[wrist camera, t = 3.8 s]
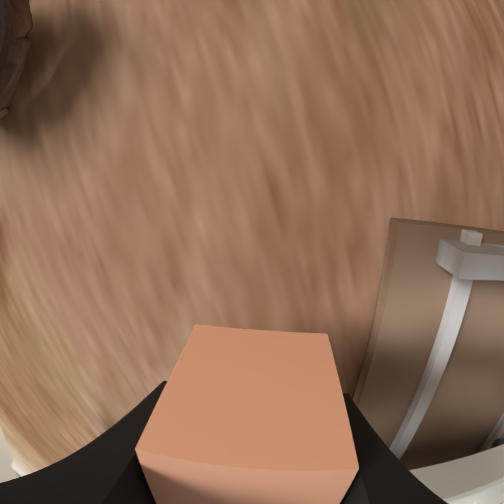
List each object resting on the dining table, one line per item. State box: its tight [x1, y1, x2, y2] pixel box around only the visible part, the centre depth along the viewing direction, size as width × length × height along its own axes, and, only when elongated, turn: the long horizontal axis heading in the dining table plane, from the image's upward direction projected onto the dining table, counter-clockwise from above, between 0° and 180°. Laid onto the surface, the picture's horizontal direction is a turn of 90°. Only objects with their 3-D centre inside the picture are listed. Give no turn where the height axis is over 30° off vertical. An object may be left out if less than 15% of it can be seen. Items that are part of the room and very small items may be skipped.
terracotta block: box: [135, 324, 359, 504], centre depth 7 cm, size 4×4×5 cm
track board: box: [353, 218, 504, 470], centre depth 14 cm, size 30×16×3 cm, turn 178°
